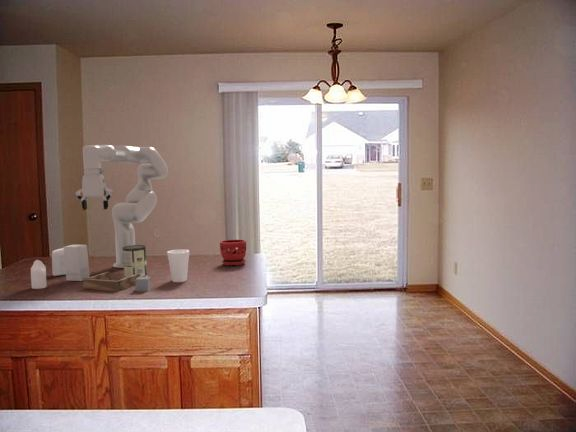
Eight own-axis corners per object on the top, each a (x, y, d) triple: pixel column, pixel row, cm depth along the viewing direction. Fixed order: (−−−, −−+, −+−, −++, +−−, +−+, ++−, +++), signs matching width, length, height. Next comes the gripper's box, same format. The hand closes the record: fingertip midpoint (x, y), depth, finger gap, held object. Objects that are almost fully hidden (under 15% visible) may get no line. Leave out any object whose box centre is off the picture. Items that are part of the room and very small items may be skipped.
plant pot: (251, 263, 292) (251, 239, 290) (236, 267, 281) (235, 243, 279) (231, 260, 299) (230, 237, 297) (215, 265, 288) (214, 241, 286)
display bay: (107, 280, 257) (106, 271, 257) (140, 282, 252) (139, 273, 251) (83, 288, 242) (83, 279, 242) (118, 291, 237) (117, 281, 236)
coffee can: (134, 274, 270) (132, 244, 269) (152, 275, 266) (150, 245, 264) (119, 278, 261) (117, 247, 259) (137, 280, 256) (135, 249, 255)
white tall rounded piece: (43, 257, 249) (46, 259, 245) (45, 285, 250) (48, 287, 246) (28, 259, 246) (31, 261, 241) (30, 287, 247) (33, 289, 242)
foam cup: (171, 283, 249) (170, 254, 247) (165, 279, 257) (164, 250, 255) (193, 281, 253) (192, 251, 251) (186, 277, 261) (185, 248, 260)
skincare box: (90, 278, 262) (88, 244, 260) (80, 281, 256) (78, 246, 254) (74, 277, 265) (72, 243, 263) (65, 280, 259) (62, 246, 257)
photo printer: (74, 272, 277) (73, 246, 276) (76, 273, 274) (75, 247, 272) (51, 275, 271) (50, 249, 270) (53, 276, 268) (52, 250, 266)
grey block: (138, 288, 241) (138, 276, 241) (150, 288, 242) (150, 276, 241) (135, 291, 236) (135, 279, 236) (148, 291, 237) (147, 279, 236)
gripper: (114, 171, 270) (116, 208, 273) (77, 172, 271) (80, 208, 273) (108, 172, 263) (111, 209, 265) (71, 173, 264) (73, 210, 266)
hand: (95, 209), depth 269 cm, fingers open, 9 cm apart
